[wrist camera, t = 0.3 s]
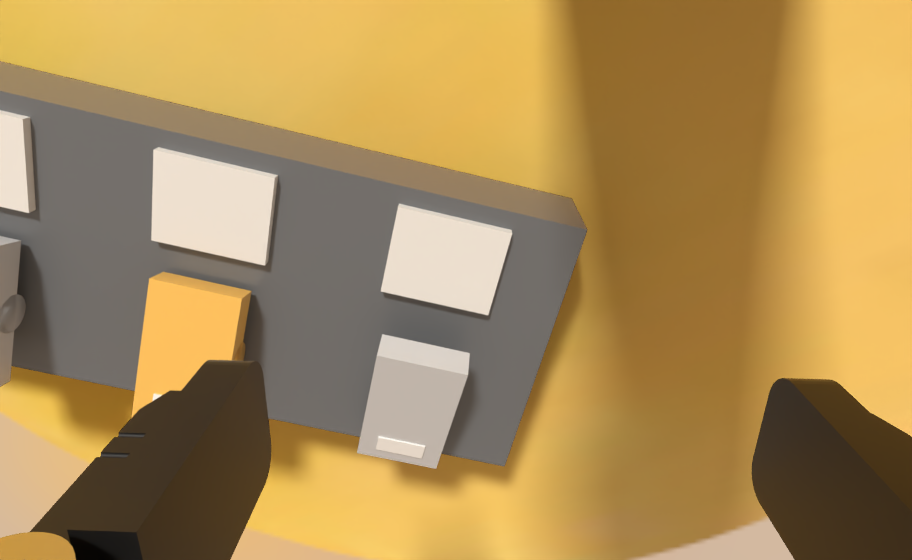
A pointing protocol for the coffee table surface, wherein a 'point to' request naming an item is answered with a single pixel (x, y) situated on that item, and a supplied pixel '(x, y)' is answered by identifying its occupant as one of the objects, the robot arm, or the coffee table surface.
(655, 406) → the coffee table surface
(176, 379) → the block
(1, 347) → the grey rocker left
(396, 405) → the grey rocker right
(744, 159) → the coffee table surface
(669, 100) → the coffee table surface
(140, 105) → the rocker switch panel
